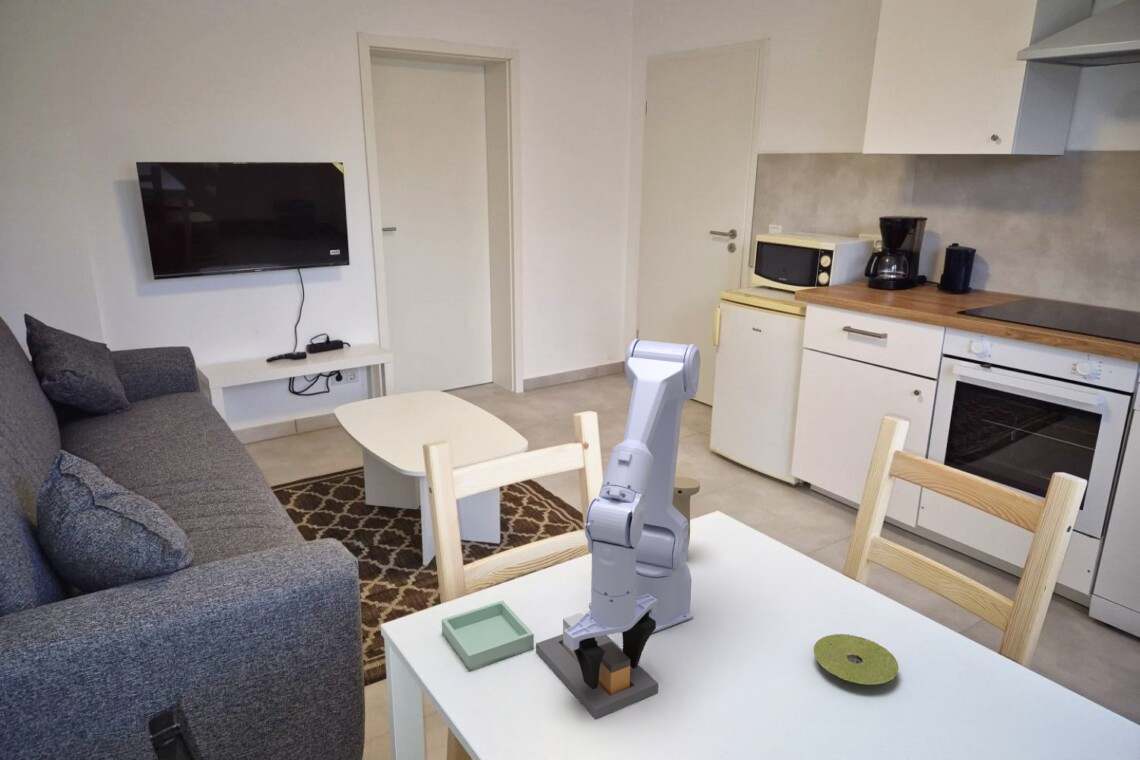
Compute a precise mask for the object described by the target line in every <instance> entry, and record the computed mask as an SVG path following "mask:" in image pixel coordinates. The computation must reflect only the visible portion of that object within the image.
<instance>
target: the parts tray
mask: <svg viewBox="0 0 1140 760" xmlns="http://www.w3.org/2000/svg"><path fill="white" fill-rule="evenodd" d="M441 634H442V636H443V637H444V638H445V639H446V641H447V643H448V644H449V645H450V647H451V648H452V649H453V651H454V652H455V654H456V655H457V656H458V658H459V659H460V661H461V662H462V663H463V665H464V666H465V667H466V668H467V670H468V672H472V671H476V670H477V669H480V668H483V667H486V666H489V665H492V664H494V663H497V662H500V661H503V660H506V659H509V658H512V657H514V656H517V655H520V653H521V654H523V653H526V652H529V651H532V650H534V649H535V648H534V647H535V645H534V642H535V640H534V639H535V638H534V636H535V634H534V632H532V630H531V629H530V628H528V626H527V625H526V624H525V622H523V620H521V618H520V617H519V616H518V615H517V614H516V613H515V612H514V611H513V609H511V607H509V606H508V603H506V602H505V601H504V600H499V601H496V602H493V603H490V604H487V605H484V606H481V607H478V608H474V609H471V610H467V611H464V612H462V613H458V614H454V615H451V616H449V617H444V618H442V619H441ZM528 650H529V651H528Z"/></svg>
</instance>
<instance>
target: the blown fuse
mask: <svg viewBox="0 0 1140 760" xmlns="http://www.w3.org/2000/svg"><path fill="white" fill-rule="evenodd" d="M599 647H601V648H602V649H603V650H604V651H605V653H604V655H603V658H602V660H601V664H600V670H599V683H598V684H599V685H600V686H601V687H602V688H603V689H604V690H605V691H606V692H607V693H608V694H609V695H610V696H611V695H613V694H615V693H618V692H620V691H623V690H625V689H628V688H629V687H630V658H629V657H627V656H626V655H625V654H624V653H623V652H622V651H621V650H620V649H619V648H618V647H617V646H616V645H615V644H614V643H613V642H609V643H606V644H603V645H600V646H599Z"/></svg>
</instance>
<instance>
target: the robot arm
mask: <svg viewBox="0 0 1140 760" xmlns="http://www.w3.org/2000/svg"><path fill="white" fill-rule="evenodd" d="M700 369H701V352H700V349H699V348H698V347H697V345H696V344H694V343H690V344H686V343H685V344H683V343H676V342H675V343H673V342H664V341H663V342H662V341H654V340H652V341H651V340H641V339H640V338H635V339H633V340H632V341H631V342H630V343H629V345H628V347H627V349H626V353H625V359H624V370H625V371H624V372H625V375H626V379H627V384H628V386H629V389H630V390H631V395H630V396H631V398H630V403H629V408H628V413H627V418H626V424H625V429H624V435H623V439H622V441H621V442H620V443H618V444H617V445H615V446H613V447H612V449H611V453H610V454H609V458H608V463H607V465H606V469H605V473H604V477H603V481H602V483H601V487H600V490H599V494H598V497H597V498H593V499H592V500H591V501H590V502H589V505H588V508H587V511H586V515H585V520H584V521H585V523H584V534H585V537H586V540H587V550H588V552H589V553H590V554H591V580H590V581H591V582H590V583H591V584H590V585H591V586H590V587H591V588H590V589H591V590H590V591H591V593H590V595H591V596H590V602H589V604H588V609H589V610H588V611H587V612H586V613H585V614H583V615H584V616H583V617H582V618H581V619H580V620H579V621H577V622H576V623H575V624H574V625H573V626H572V627H570V628H568V629H566V630H564V644H566V645H567V646H568V647H569V648H571V649H572V650H573V651H574V653H575V655H576V657H577V659H578V662H579V664H580V667H581V671H582V675H583V679H584V682H585V683H586V684H587V685H588V686H589V687H590V688H592V689H596V688H597V687H598V683H599V670H600V664H601V660H602V658H603V655H604V653H605V651H604V650H603V649H602V648H601V647H599V646H598V645H597V641H595V637H599V636H604V635H607V636H610V635H613V634H614V635H615V634H620V633H621V634H622V650H623V653H624V654H625V655H626V656H627V657H629V658H630V667H632V668H633V669H635V668H637V666H638V665H639V662H640V659H641V657H642V654H643V650H644V648H645V646H646V643H647V642H648V640H649V638H650V637H651V636H652V634H653V633H656V632H658V631H661V630H664V629H666V628H670V627H672V626H674V625H677V624H680V623H683V622H686V621H688V620H691V619H693V618H694V614H693V613H692V612H691V600H692V599H691V597H692V596H691V595H692V575H691V571H690V568H689V566H688V564H687V563H686V561H687V558H688V554H689V547H690V540H689V536H688V527H689V524H688V520H687V519H686V518H685V517H684V516H683V515H682V514H681V513H680V512H679V511H678V510H677V509H676V508H675V507H674V506H673V504H672V502H673V492H674V482H675V477H676V470H677V464H678V463H677V461H678V451H679V443H680V431H681V423H682V422H681V421H682V414H683V413H682V412H683V409H684V405H685V401H688V400H691V399H694V398H696V397H697V392H698V390H699V389H698V388H699V382H700V381H699V379H700V371H701V370H700Z"/></svg>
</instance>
